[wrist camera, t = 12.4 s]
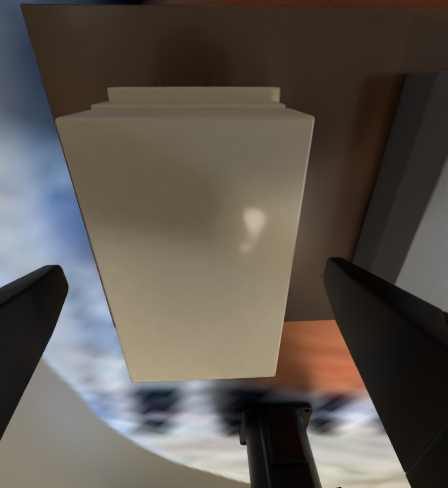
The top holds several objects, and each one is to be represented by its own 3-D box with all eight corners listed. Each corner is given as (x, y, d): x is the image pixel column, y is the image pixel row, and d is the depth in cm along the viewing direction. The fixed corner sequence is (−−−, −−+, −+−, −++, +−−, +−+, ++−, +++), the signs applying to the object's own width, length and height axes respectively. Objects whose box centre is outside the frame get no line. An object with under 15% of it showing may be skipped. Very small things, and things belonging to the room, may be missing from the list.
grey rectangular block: (418, 294, 17) (463, 341, 14) (341, 297, 17) (370, 344, 14) (524, 72, 11) (644, 69, 8) (406, 72, 11) (484, 68, 8)
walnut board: (430, 303, 20) (443, 316, 18) (119, 314, 19) (114, 327, 18) (580, 16, 11) (617, 10, 10) (37, 10, 10) (18, 2, 9)
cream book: (266, 335, 13) (275, 377, 11) (142, 340, 13) (131, 384, 11) (291, 108, 8) (316, 115, 6) (89, 109, 8) (51, 117, 6)
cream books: (254, 294, 17) (265, 342, 14) (156, 297, 16) (143, 347, 13) (270, 86, 11) (294, 88, 8) (120, 86, 11) (85, 88, 8)
